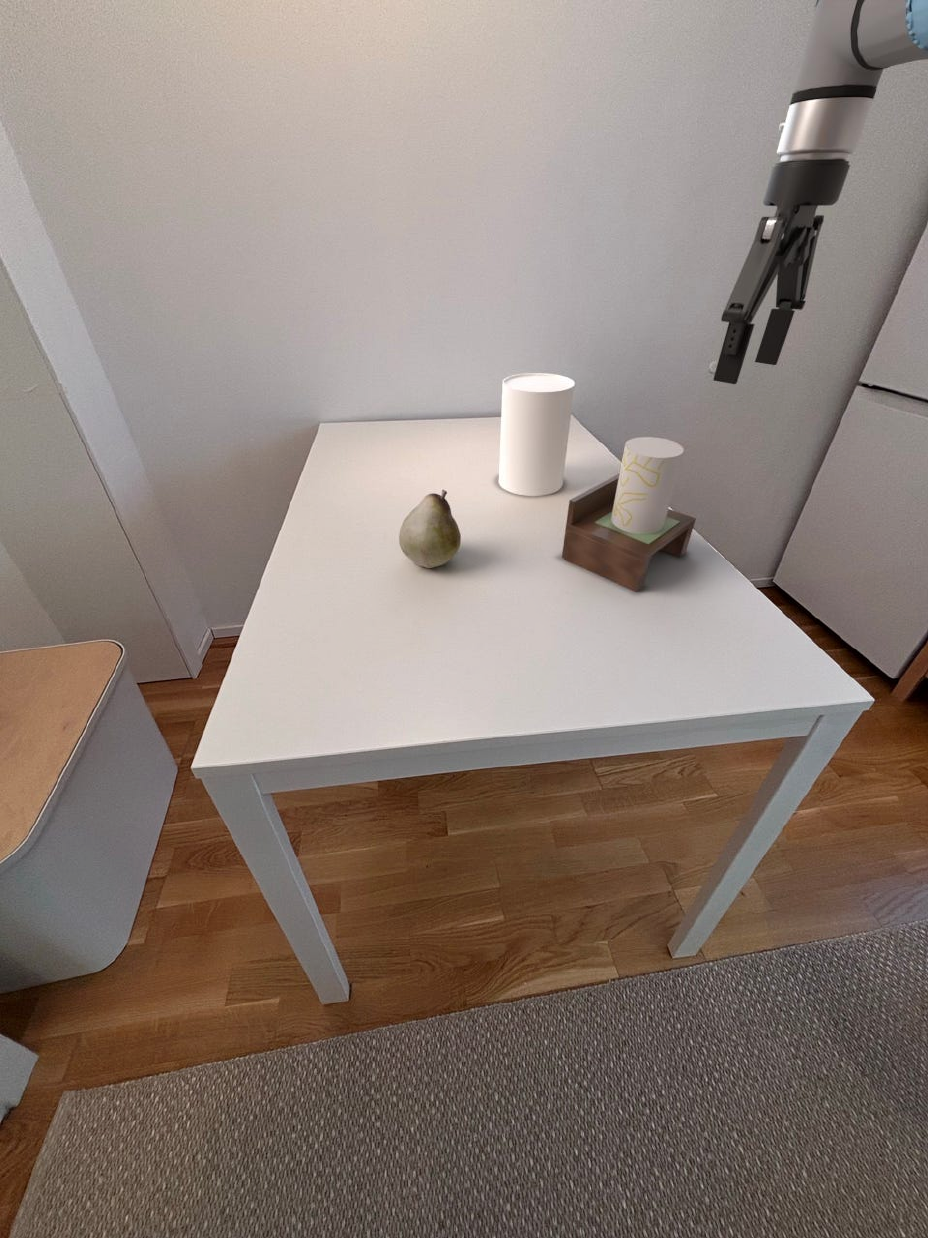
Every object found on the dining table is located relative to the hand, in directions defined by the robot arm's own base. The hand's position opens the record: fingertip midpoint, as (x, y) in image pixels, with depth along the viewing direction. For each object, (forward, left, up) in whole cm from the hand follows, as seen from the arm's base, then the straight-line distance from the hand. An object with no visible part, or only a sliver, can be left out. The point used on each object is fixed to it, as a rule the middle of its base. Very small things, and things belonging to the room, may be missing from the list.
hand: (746, 372), depth 69 cm
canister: (+38, -4, -29) cm, 48 cm away
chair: (+8, +8, -28) cm, 31 cm away
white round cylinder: (+7, +8, -22) cm, 24 cm away
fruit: (+30, +32, -29) cm, 52 cm away
